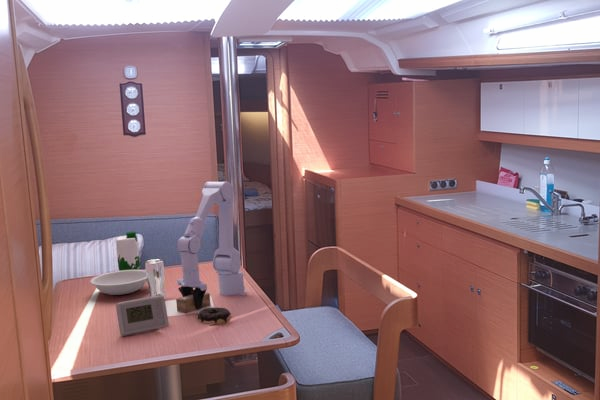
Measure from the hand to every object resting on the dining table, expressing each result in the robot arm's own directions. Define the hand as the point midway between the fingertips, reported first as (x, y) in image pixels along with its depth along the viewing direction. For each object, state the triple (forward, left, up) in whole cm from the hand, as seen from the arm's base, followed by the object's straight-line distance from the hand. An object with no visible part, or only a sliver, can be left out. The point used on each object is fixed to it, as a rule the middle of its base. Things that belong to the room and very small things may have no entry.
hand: (193, 306), depth 245 cm
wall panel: (+4, -4, -2) cm, 6 cm away
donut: (-6, +14, -2) cm, 15 cm away
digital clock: (+17, +15, -2) cm, 23 cm away
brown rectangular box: (0, 0, 0) cm, 0 cm away
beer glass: (+13, -21, -2) cm, 25 cm away
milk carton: (+25, -61, -2) cm, 66 cm away
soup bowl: (+27, -37, -2) cm, 46 cm away
